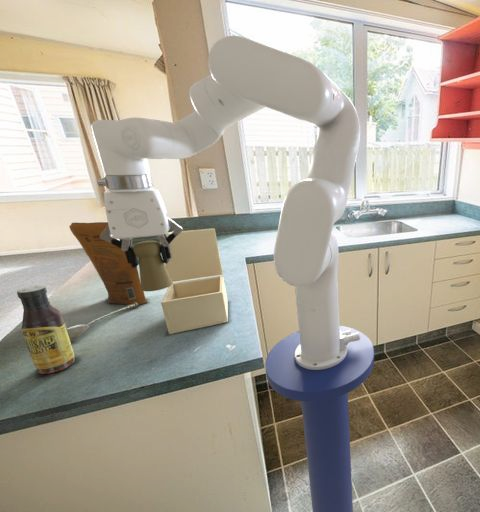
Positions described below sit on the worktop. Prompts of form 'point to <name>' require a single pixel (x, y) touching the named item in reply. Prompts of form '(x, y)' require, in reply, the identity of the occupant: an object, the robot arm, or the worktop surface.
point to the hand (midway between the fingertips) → (151, 263)
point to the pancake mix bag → (110, 264)
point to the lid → (194, 255)
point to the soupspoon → (80, 329)
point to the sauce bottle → (44, 331)
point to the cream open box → (195, 304)
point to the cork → (151, 266)
